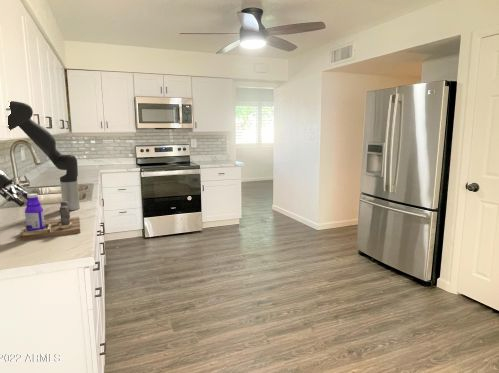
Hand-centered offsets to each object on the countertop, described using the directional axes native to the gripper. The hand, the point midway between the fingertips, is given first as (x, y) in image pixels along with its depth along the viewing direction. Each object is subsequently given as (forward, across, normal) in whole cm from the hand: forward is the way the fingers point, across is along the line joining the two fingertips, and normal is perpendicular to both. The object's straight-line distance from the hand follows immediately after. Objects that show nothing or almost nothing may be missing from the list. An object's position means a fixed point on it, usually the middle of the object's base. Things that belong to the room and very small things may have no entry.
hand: (27, 202), depth 155 cm
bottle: (+11, 0, +8) cm, 14 cm away
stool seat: (+15, +8, +7) cm, 18 cm away
